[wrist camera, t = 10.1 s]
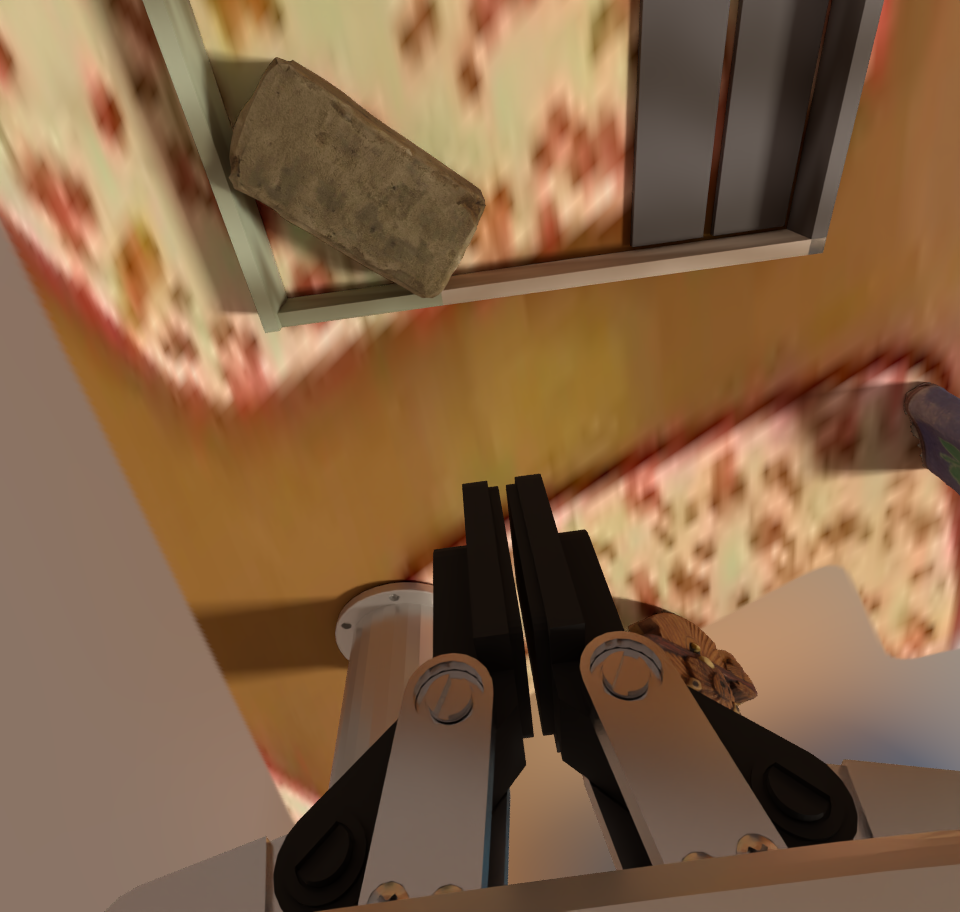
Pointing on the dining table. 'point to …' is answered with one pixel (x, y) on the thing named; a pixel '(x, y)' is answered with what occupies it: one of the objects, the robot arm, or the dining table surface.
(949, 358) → the dining table surface
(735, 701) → the wooden carving
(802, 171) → the box
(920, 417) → the flask
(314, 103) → the stone block
